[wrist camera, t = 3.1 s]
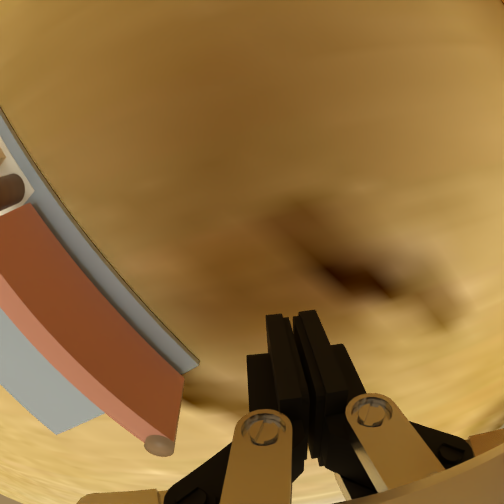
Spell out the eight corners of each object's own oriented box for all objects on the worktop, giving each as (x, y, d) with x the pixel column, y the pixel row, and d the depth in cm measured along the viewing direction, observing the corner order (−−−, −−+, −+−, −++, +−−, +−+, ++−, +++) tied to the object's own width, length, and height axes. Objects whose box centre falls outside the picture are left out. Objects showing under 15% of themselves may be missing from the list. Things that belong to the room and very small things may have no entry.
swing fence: (16, 219, 12) (-45, 253, 8) (30, 202, 11) (-34, 233, 7) (172, 391, 15) (159, 459, 11) (189, 382, 15) (180, 452, 11)
